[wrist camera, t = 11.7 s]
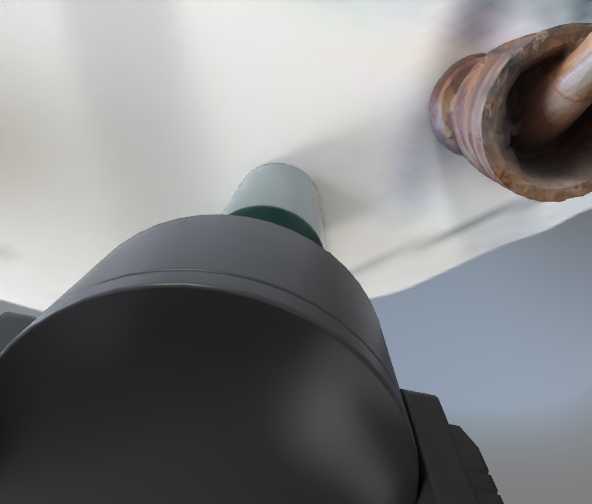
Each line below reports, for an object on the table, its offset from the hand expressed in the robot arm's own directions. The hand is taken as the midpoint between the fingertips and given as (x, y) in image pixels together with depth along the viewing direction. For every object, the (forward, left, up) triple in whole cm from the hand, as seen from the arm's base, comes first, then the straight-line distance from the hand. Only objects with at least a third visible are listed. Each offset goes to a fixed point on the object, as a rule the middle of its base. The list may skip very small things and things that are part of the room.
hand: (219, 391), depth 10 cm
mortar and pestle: (+15, +2, -30) cm, 34 cm away
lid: (0, 0, -1) cm, 1 cm away
